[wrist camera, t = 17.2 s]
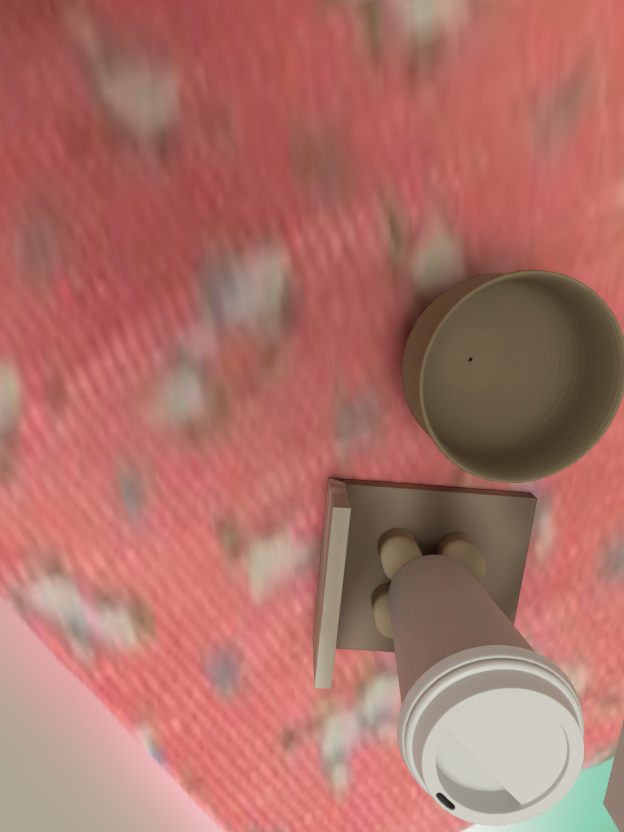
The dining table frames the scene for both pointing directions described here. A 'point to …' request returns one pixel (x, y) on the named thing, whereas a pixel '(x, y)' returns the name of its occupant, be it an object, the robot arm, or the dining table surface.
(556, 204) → the dining table surface
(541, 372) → the bowl
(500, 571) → the peg stand
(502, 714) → the coffee cup
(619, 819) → the robot arm
